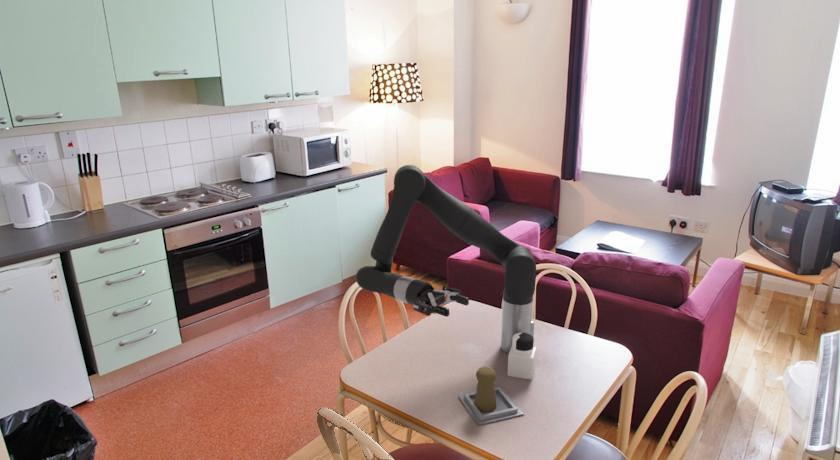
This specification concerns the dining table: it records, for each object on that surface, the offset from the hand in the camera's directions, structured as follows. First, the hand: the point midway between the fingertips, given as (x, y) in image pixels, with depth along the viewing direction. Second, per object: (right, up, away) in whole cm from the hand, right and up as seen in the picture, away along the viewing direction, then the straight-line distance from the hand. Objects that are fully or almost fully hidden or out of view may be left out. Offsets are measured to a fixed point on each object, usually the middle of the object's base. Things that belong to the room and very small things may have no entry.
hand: (458, 307), depth 148 cm
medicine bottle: (+20, -22, +17) cm, 34 cm away
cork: (+7, -27, 0) cm, 27 cm away
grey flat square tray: (+9, -27, +1) cm, 28 cm away
